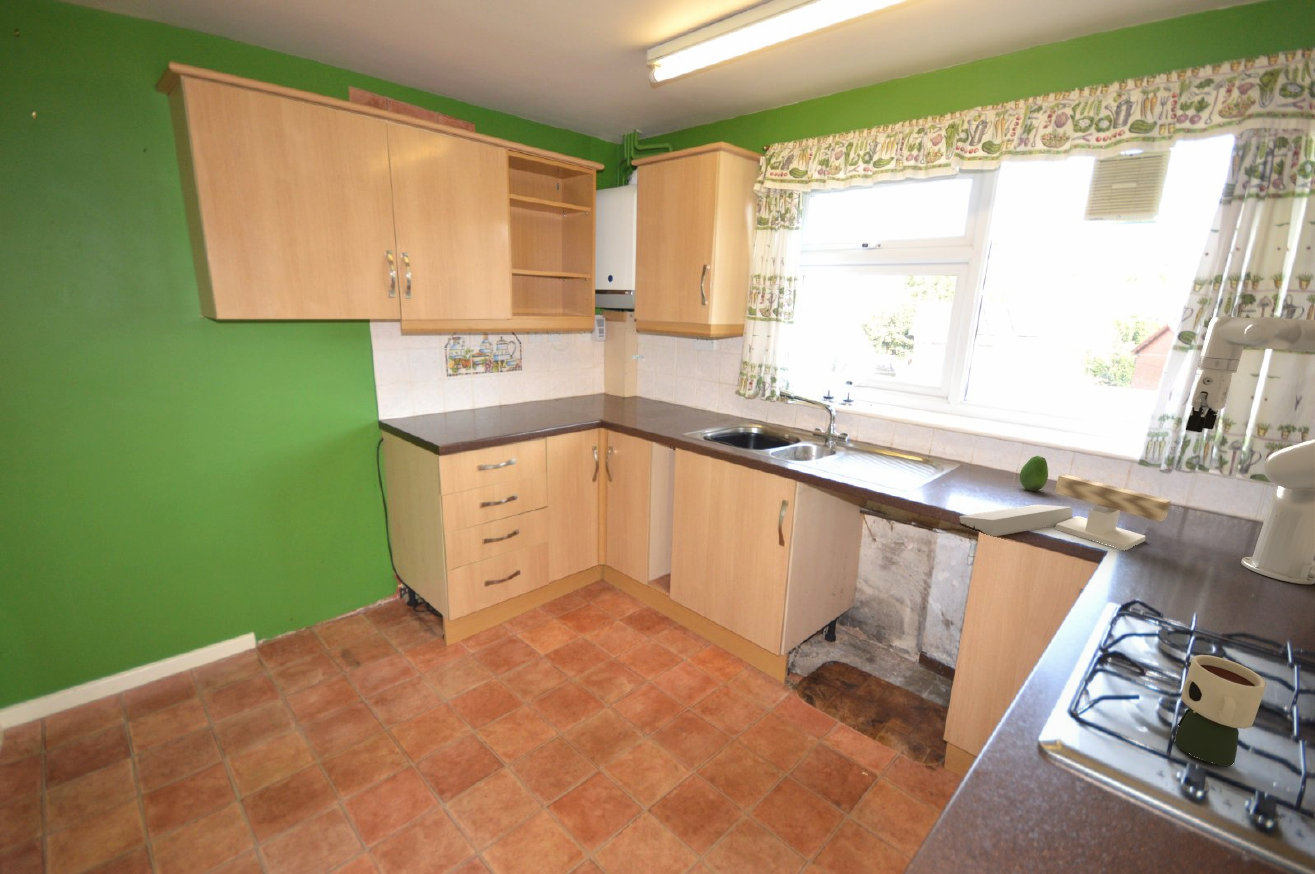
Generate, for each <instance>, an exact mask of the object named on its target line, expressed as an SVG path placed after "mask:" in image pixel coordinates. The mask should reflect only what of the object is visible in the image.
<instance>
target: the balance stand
mask: <svg viewBox="0 0 1315 874" xmlns="http://www.w3.org/2000/svg"><path fill="white" fill-rule="evenodd" d="M1120 514H1121V511H1120V510H1116V509H1112V508H1109V507H1105V506H1102V505H1098V504H1096V505H1094V507H1093V508H1090V509H1089V513H1088V517H1087V518H1086V517H1083V516H1080V515H1076V516H1074V517H1073V518H1071V519H1068V520H1066V521H1063V522H1060V523H1058V524H1056V525H1055V527H1054V528H1055V530H1058V531H1060V532H1063V533H1066V534H1070V535H1073V536H1075V537H1076V536H1077V537H1079V536H1080V537H1079V538H1082V537H1083V538H1082V539H1085V538H1086V539H1085V540H1088V539H1089V541H1091V540H1094V541H1098V542H1100V543H1103V544H1107V545H1111V546H1114V547H1116V548H1118V549H1117V550H1119V549H1120V550H1119V551H1122V550H1124V551H1123V552H1126V551H1128V550H1130V549H1131V548H1133V546H1134V547H1136V546H1137V545H1140V544H1142V543H1144V542H1146V541H1145V540H1146V536H1147V535H1143V534H1140V533H1137V532H1134V531H1130V530H1127V529H1124V528H1121V527H1118V526H1117V525H1118V521H1119V518H1120ZM1094 541H1093V542H1094ZM1100 543H1099V544H1100ZM1103 544H1102V545H1103ZM1107 545H1106V546H1107ZM1135 545H1136V546H1135ZM1116 548H1115V549H1116ZM1125 550H1126V551H1125Z"/></svg>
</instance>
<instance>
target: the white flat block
mask: <svg viewBox="0 0 1315 874" xmlns="http://www.w3.org/2000/svg"><path fill="white" fill-rule="evenodd" d="M958 517H959V522H960V524H963V525H965V526H967V527H969V528H971V529H975V530H979V531H981V532H982V533H984V534H986V535H988V536H991V537H993V538H994V537H995V538H996V537H999V536H1004V535H1005V536H1006V535H1009V534H1011V535H1012V534H1015V533H1023V532H1028V531H1034V530H1038V529H1045V528H1050V527H1054V526H1055V527H1056V524H1058V523H1060V522H1063V521H1066V520H1068V519H1071V518H1073V507H1072V506H1062V505H1048V504H1032V505H1031V504H1030V505H1025V506H1017V507H1012V508H1005V509H999V510H993V511H992V510H991V511H986V512H978V513H972V514H965V515H960V516H958ZM1049 526H1050V527H1049Z"/></svg>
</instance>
